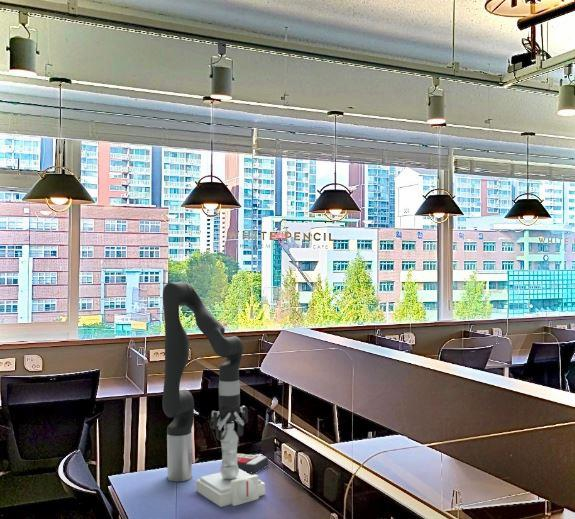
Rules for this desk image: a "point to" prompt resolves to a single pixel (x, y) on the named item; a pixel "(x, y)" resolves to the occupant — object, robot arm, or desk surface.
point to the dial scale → (231, 488)
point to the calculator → (251, 462)
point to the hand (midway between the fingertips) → (229, 437)
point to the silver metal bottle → (229, 452)
